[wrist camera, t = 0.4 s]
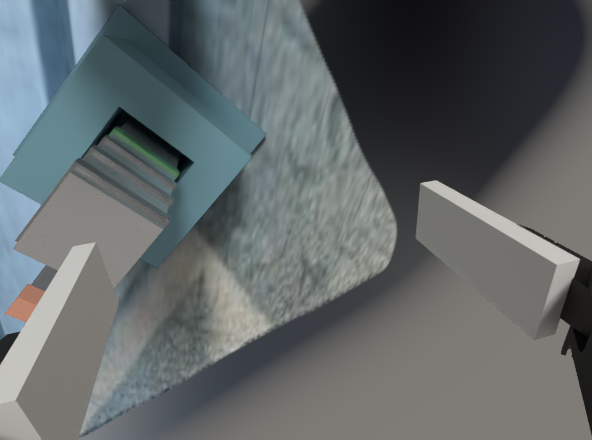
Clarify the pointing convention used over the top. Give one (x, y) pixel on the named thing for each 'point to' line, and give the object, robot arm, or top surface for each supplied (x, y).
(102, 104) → the stand base
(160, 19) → the top surface
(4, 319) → the top surface
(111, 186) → the column
